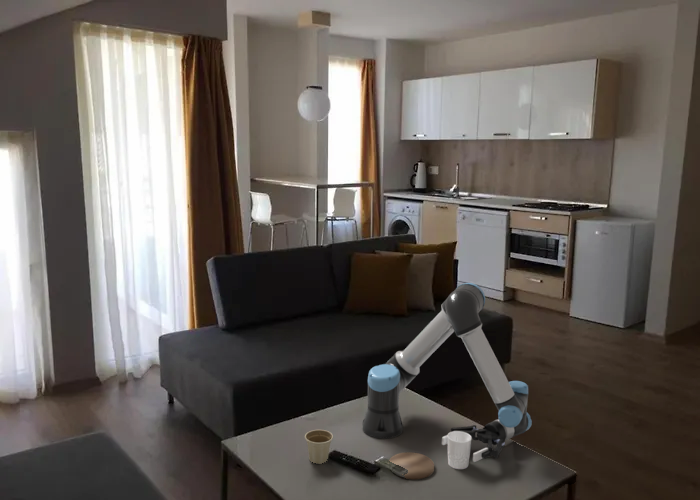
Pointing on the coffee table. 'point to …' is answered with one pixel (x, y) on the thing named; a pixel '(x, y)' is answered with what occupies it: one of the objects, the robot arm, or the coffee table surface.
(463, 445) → the white cup
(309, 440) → the flower pot
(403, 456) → the walnut coaster
